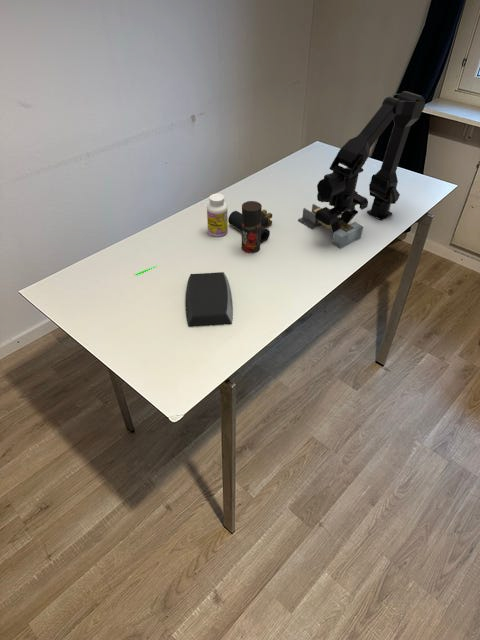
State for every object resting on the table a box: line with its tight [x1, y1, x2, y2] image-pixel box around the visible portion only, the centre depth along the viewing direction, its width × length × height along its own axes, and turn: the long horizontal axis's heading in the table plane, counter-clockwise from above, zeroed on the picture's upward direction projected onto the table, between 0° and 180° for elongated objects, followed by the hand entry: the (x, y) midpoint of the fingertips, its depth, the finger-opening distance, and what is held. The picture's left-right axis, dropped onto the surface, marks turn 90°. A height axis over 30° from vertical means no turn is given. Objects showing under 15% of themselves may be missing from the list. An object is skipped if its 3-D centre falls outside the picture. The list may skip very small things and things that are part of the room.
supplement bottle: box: [206, 193, 229, 238], centre depth 144 cm, size 7×7×13 cm
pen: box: [134, 265, 158, 276], centre depth 133 cm, size 1×14×1 cm, turn 128°
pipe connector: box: [228, 209, 273, 244], centre depth 148 cm, size 12×5×15 cm
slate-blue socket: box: [331, 221, 364, 250], centre depth 143 cm, size 10×4×4 cm, turn 128°
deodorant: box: [241, 200, 263, 254], centre depth 137 cm, size 6×6×15 cm
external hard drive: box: [184, 271, 234, 328], centre depth 123 cm, size 13×19×4 cm
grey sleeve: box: [297, 203, 323, 230], centre depth 152 cm, size 8×7×4 cm
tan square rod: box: [313, 207, 353, 232], centre depth 147 cm, size 3×15×3 cm, turn 38°
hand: (337, 231), depth 146 cm, fingers closed on tan square rod, 3 cm apart
